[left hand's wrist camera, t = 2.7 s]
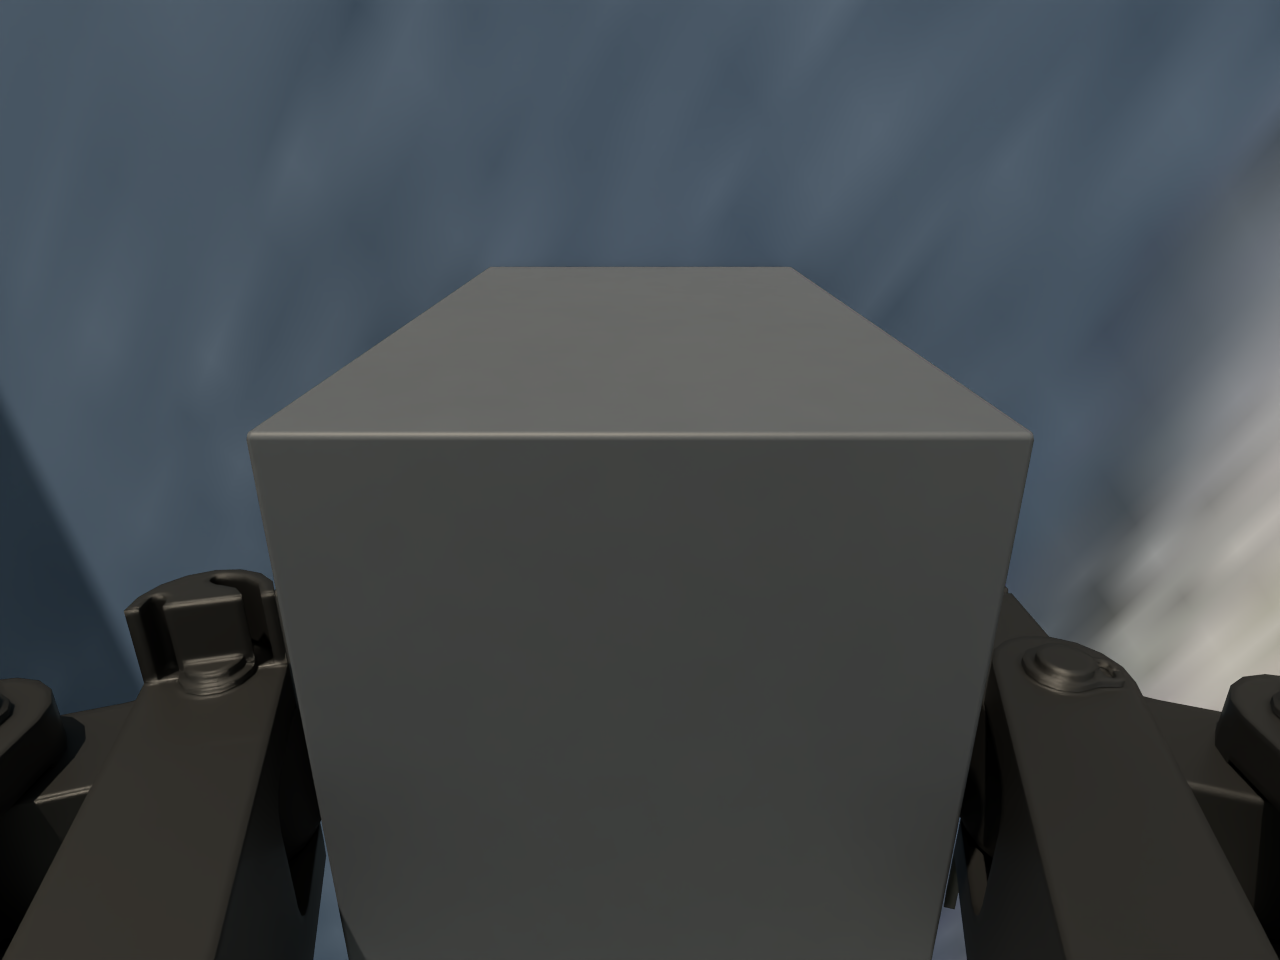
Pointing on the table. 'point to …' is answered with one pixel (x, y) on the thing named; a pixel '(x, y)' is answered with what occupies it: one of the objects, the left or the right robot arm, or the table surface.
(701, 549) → the bar
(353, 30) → the table surface
